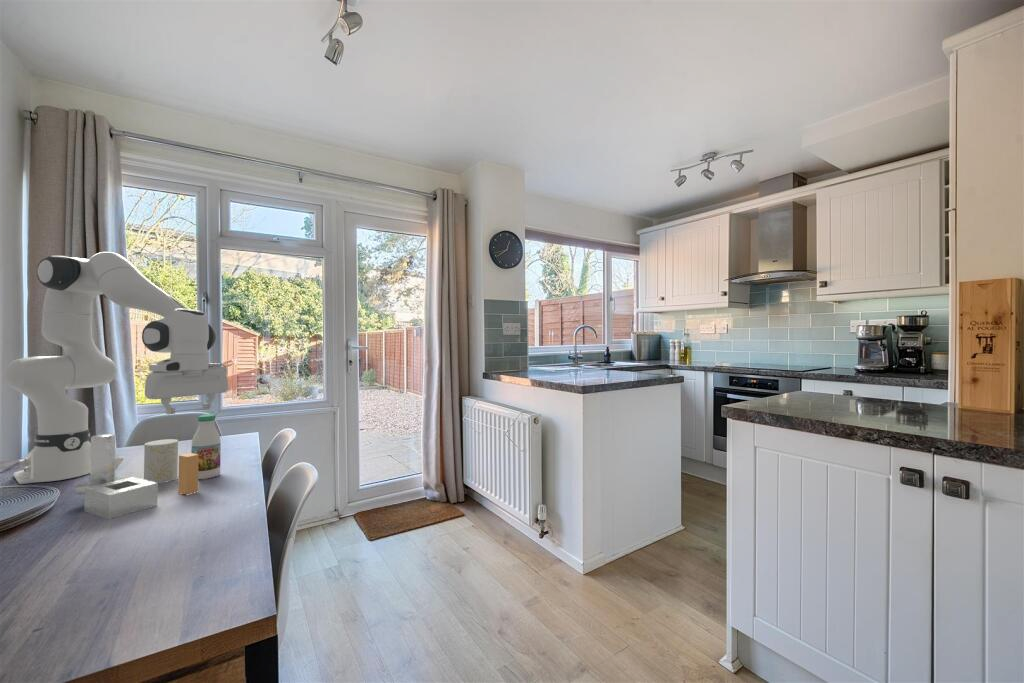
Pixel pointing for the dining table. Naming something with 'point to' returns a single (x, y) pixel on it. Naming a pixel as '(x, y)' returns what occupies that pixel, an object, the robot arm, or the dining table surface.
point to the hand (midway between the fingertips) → (189, 411)
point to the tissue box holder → (113, 484)
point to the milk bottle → (207, 447)
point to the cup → (161, 460)
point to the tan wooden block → (188, 473)
